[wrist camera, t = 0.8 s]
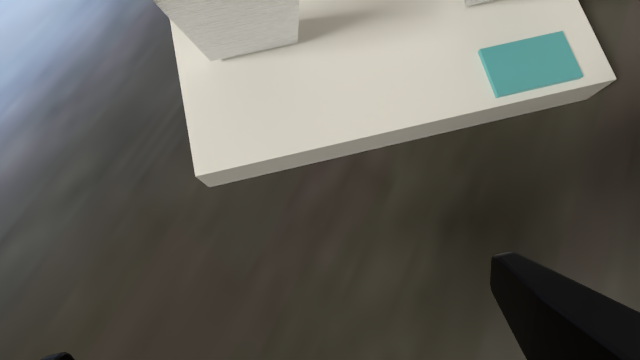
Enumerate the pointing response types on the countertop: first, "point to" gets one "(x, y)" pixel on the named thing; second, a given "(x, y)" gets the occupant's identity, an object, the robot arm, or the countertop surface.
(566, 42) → the switch panel
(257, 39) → the left lever
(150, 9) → the countertop surface
